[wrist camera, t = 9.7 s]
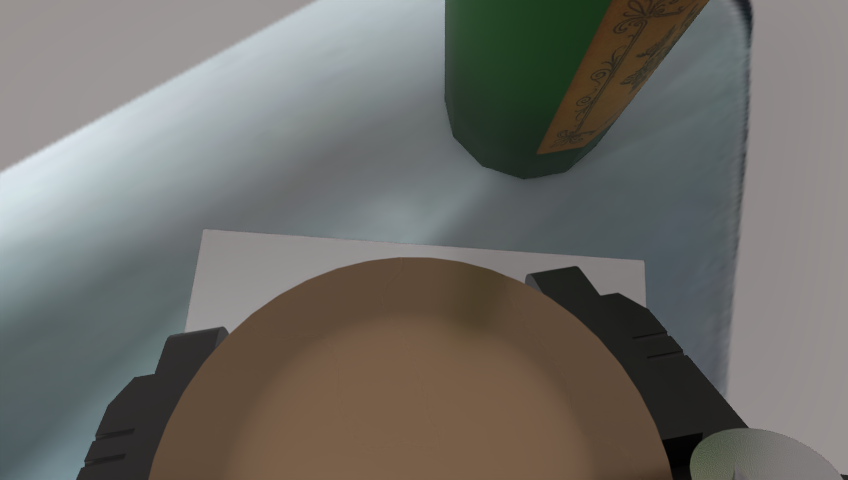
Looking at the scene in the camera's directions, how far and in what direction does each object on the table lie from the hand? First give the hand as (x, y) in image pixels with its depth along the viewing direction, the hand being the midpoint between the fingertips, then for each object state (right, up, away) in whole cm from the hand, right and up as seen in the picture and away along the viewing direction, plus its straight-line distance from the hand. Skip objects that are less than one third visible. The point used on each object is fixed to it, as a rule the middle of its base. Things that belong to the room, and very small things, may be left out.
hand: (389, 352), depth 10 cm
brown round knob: (0, -6, +13) cm, 14 cm away
